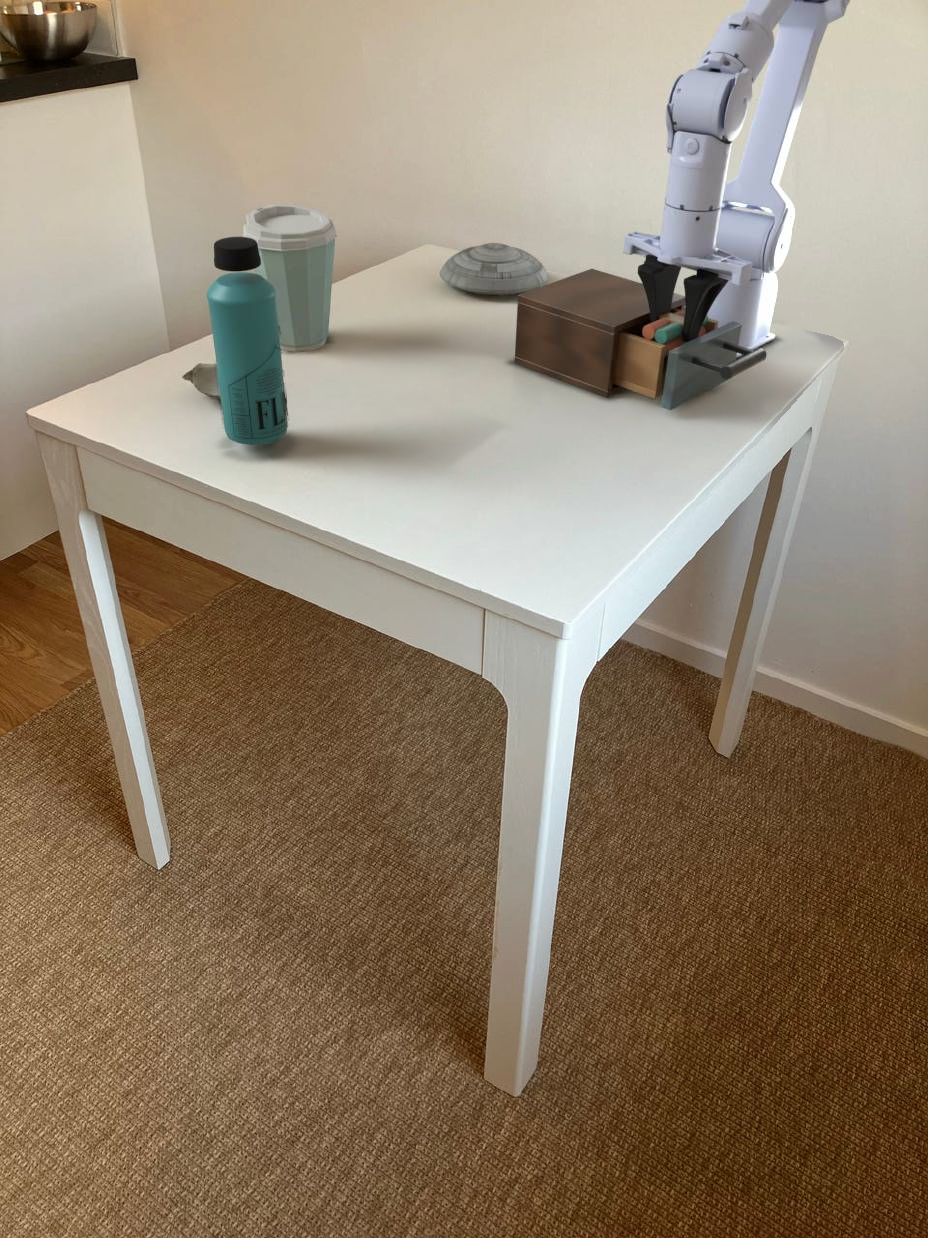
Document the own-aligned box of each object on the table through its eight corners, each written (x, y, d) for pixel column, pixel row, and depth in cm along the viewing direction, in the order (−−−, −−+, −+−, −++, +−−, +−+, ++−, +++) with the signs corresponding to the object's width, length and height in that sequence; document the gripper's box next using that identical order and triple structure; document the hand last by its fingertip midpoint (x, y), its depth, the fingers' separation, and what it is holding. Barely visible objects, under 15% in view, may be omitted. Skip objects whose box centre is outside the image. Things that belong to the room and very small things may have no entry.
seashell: (239, 427, 111) (278, 384, 116) (237, 405, 109) (276, 362, 113) (173, 401, 113) (214, 359, 117) (169, 379, 110) (211, 337, 115)
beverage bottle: (261, 466, 101) (239, 256, 89) (210, 448, 103) (182, 242, 92) (304, 440, 105) (288, 237, 93) (254, 424, 108) (232, 225, 96)
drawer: (770, 390, 115) (782, 335, 111) (709, 425, 108) (719, 367, 104) (641, 347, 125) (648, 295, 121) (577, 376, 117) (582, 321, 114)
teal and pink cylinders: (664, 360, 111) (668, 331, 109) (638, 351, 113) (642, 323, 111) (705, 340, 116) (710, 312, 114) (680, 332, 118) (684, 304, 116)
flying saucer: (512, 311, 136) (514, 269, 133) (418, 288, 143) (418, 247, 139) (567, 280, 146) (570, 240, 143) (477, 260, 153) (478, 221, 150)
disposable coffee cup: (360, 338, 127) (355, 211, 118) (304, 367, 120) (294, 234, 111) (293, 320, 132) (283, 196, 123) (235, 347, 125) (220, 217, 116)
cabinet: (676, 364, 123) (686, 296, 118) (607, 398, 115) (614, 326, 110) (585, 333, 130) (591, 268, 126) (514, 362, 122) (517, 294, 118)
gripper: (611, 196, 107) (598, 325, 115) (734, 227, 99) (711, 362, 107) (651, 184, 111) (636, 309, 119) (772, 212, 103) (747, 344, 111)
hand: (674, 333), depth 113 cm, fingers closed on teal and pink cylinders, 3 cm apart
